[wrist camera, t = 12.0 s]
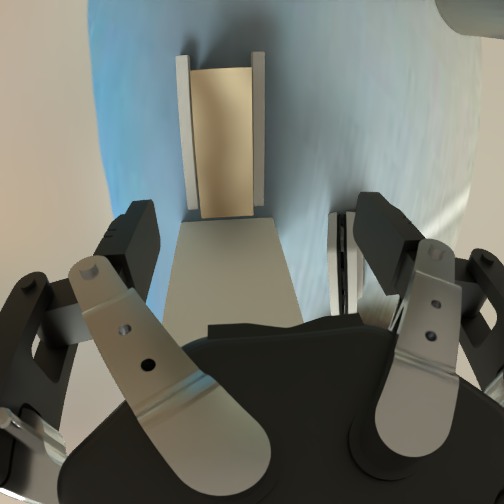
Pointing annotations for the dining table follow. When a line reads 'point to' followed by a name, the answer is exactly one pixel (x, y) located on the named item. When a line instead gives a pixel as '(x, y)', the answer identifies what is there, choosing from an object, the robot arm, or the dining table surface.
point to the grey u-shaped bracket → (227, 243)
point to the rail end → (223, 140)
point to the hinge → (353, 265)
